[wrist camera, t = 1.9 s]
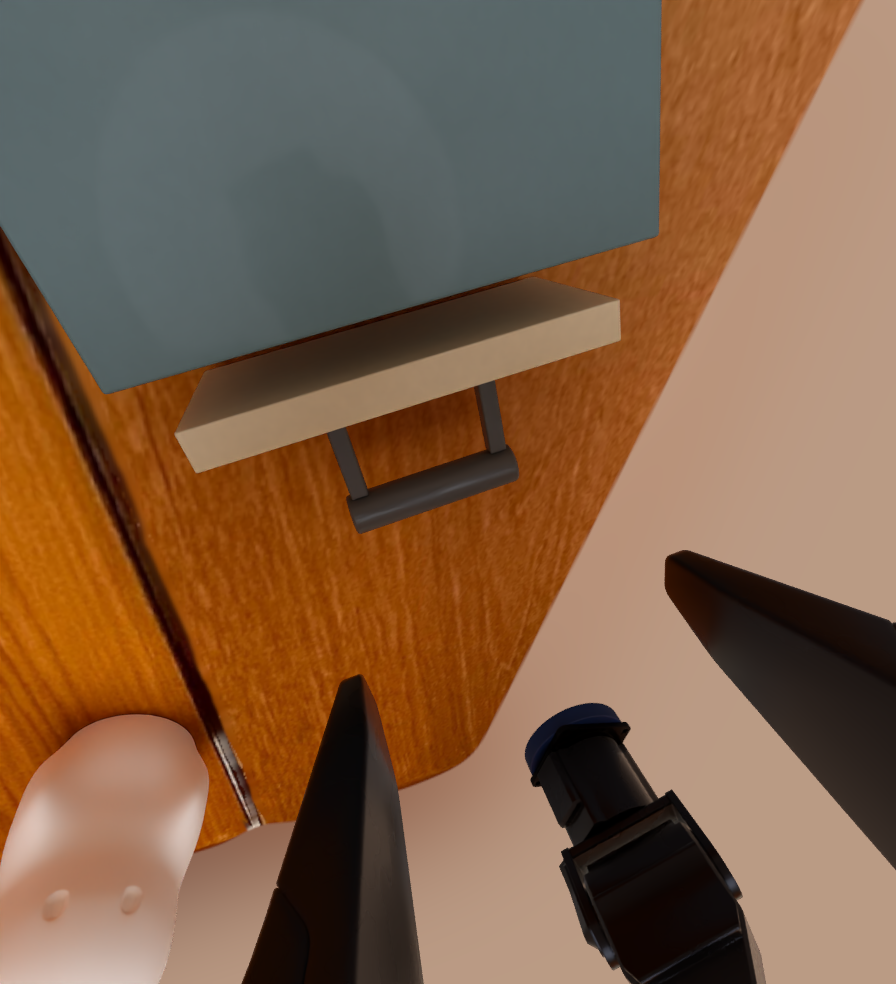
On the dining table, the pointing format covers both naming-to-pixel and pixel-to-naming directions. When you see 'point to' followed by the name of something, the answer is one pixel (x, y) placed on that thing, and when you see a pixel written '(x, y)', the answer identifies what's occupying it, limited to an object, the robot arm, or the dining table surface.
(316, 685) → the dining table surface
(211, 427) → the drawer
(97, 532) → the dining table surface
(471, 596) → the dining table surface
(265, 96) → the cabinet
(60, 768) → the figurine
